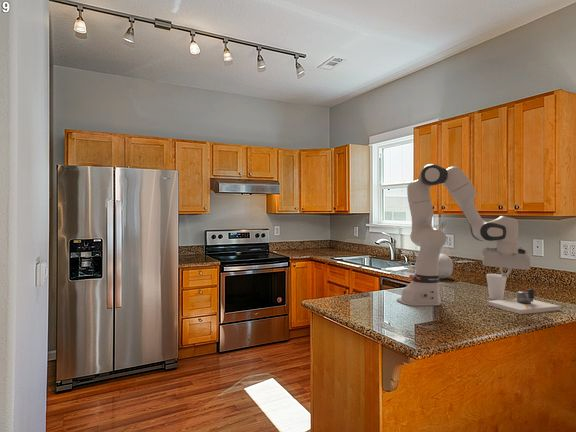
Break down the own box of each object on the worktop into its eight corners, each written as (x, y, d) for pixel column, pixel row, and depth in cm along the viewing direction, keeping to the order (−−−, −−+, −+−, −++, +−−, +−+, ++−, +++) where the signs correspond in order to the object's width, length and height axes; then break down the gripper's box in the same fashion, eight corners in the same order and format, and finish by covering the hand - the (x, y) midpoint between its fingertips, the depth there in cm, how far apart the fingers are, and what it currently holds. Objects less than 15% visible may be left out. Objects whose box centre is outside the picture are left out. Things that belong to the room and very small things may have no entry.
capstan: (515, 300, 186) (515, 283, 186) (529, 301, 184) (529, 284, 184) (524, 307, 170) (524, 289, 170) (539, 309, 168) (539, 290, 168)
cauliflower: (426, 264, 284) (428, 241, 272) (456, 279, 267) (460, 256, 255) (409, 277, 274) (411, 254, 263) (439, 293, 257) (443, 270, 245)
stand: (519, 314, 167) (520, 309, 167) (487, 304, 185) (487, 300, 185) (559, 310, 176) (560, 305, 176) (525, 301, 193) (525, 297, 193)
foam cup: (495, 301, 192) (496, 276, 192) (482, 297, 201) (482, 274, 201) (510, 300, 195) (510, 276, 195) (496, 296, 204) (496, 273, 204)
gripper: (483, 247, 181) (481, 275, 181) (532, 251, 172) (530, 280, 173) (482, 246, 187) (480, 273, 187) (529, 250, 178) (527, 278, 178)
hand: (504, 276), depth 180 cm, fingers closed
